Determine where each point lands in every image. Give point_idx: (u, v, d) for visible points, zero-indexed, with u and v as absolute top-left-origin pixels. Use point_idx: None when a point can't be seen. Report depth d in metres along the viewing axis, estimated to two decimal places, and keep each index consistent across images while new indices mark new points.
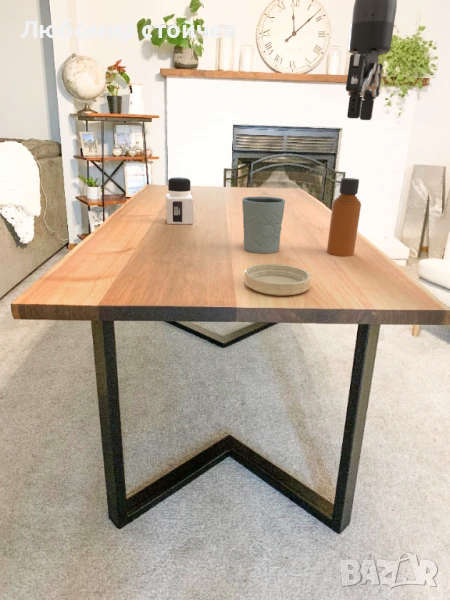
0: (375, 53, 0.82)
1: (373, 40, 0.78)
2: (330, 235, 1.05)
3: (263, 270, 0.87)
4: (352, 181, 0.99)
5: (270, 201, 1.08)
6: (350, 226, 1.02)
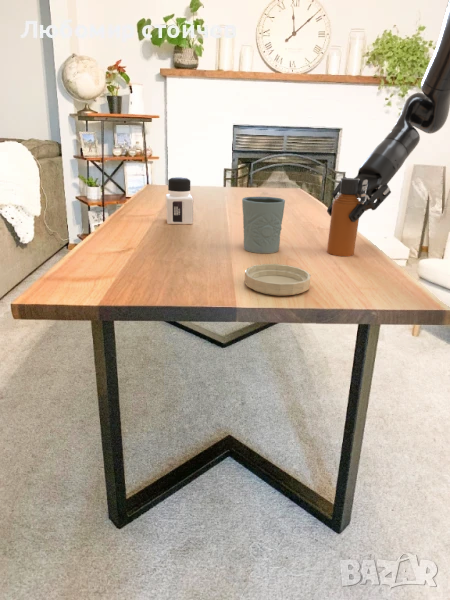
0: (368, 175, 1.04)
1: None
2: (330, 235, 1.05)
3: (263, 270, 0.87)
4: (352, 181, 0.99)
5: (270, 201, 1.08)
6: (350, 226, 1.02)
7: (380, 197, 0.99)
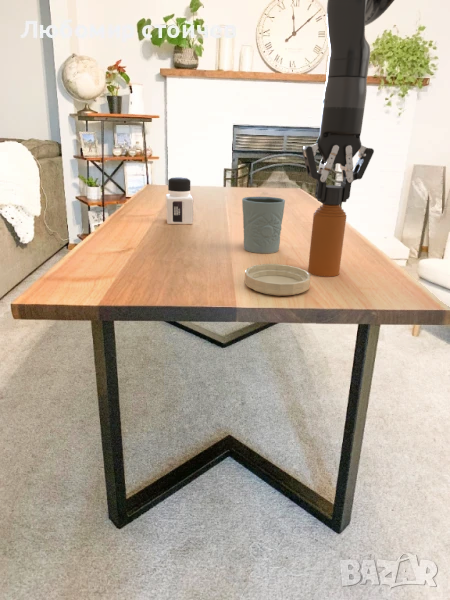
0: (342, 135, 0.81)
1: (326, 125, 0.80)
2: (311, 252, 0.90)
3: (263, 270, 0.87)
4: (335, 189, 0.84)
5: (270, 201, 1.08)
6: (333, 242, 0.87)
7: None
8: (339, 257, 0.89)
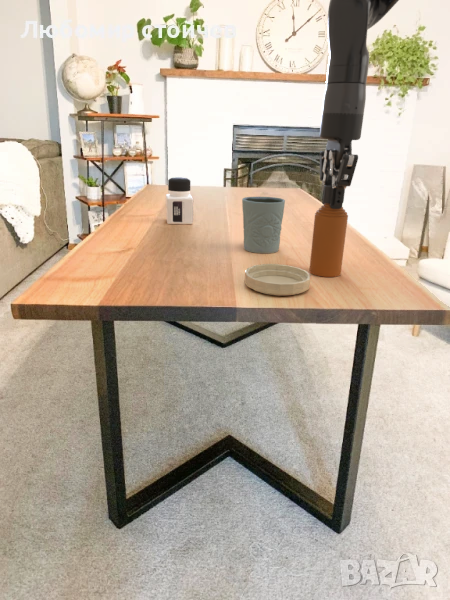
0: None
1: (355, 132, 0.79)
2: (312, 252, 0.90)
3: (263, 270, 0.87)
4: None
5: (270, 201, 1.08)
6: (335, 242, 0.86)
7: None
8: (341, 257, 0.89)
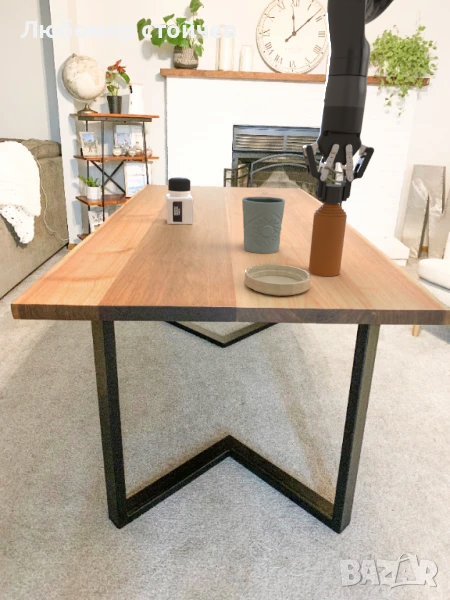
0: (342, 134, 0.81)
1: (326, 124, 0.80)
2: (311, 252, 0.90)
3: (263, 270, 0.87)
4: None
5: (270, 201, 1.08)
6: (334, 241, 0.87)
7: None
8: (340, 257, 0.89)
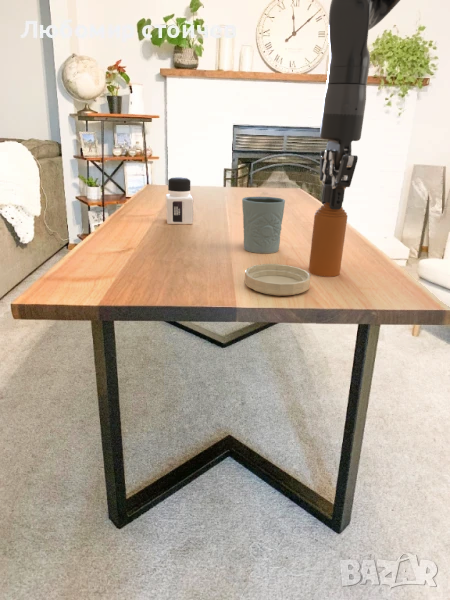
0: None
1: (355, 133, 0.79)
2: (312, 252, 0.90)
3: (263, 270, 0.87)
4: (324, 186, 0.86)
5: (270, 201, 1.08)
6: (334, 242, 0.87)
7: None
8: (340, 257, 0.89)
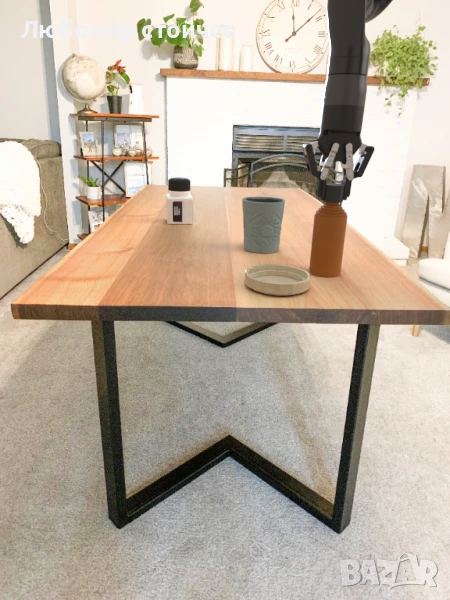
0: (342, 132, 0.81)
1: (326, 123, 0.80)
2: (312, 252, 0.90)
3: (263, 270, 0.87)
4: (336, 187, 0.84)
5: (270, 201, 1.08)
6: (335, 242, 0.86)
7: None
8: (340, 257, 0.89)
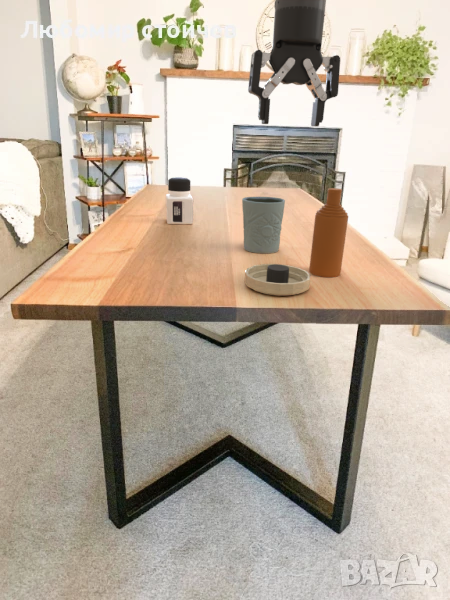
0: (299, 45, 0.67)
1: (278, 32, 0.66)
2: (312, 252, 0.90)
3: (263, 270, 0.87)
4: (279, 272, 0.80)
5: (270, 201, 1.08)
6: (335, 242, 0.87)
7: None
8: (340, 258, 0.89)
